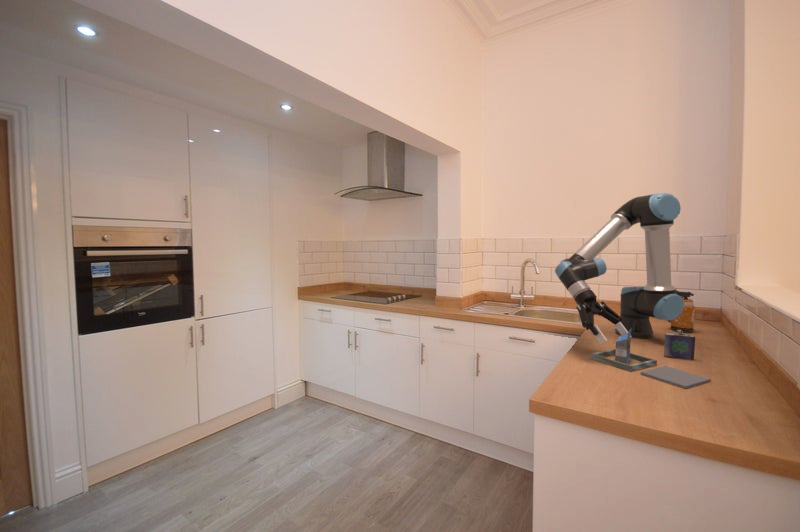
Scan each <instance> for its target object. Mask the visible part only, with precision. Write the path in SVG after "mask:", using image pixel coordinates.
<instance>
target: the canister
mask: <svg viewBox="0 0 800 532" xmlns="http://www.w3.org/2000/svg"><path fill="white" fill-rule="evenodd" d="M676 294H677V295H679V296H680V297H681V298H682V299H683V301H684V308H683V311H682V312H681V314H679V316H678V317H677V318H675V319H673V320H666V321H667V322H668V323H670V329H671V330H672V331H674V330H676V331H675V332H677V330H682V331H683V332H682V333H684V332H689V333H692V331H693V332H694V331H695V330H694V329H695V313H696V312H695V311H696V306H695V305H694V303H695V302H694V300H693V299H691V297H693V296H694V295H695V293H692V292H690V291H679V290H676Z"/></svg>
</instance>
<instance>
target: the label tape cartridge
mask: <svg viewBox="0 0 800 532" xmlns="http://www.w3.org/2000/svg"><path fill="white" fill-rule="evenodd" d="M631 329H632V328H631ZM631 329H630V330H629V332H628V335H624V336H621V335H620V336H619V337H618V338H617V339H616V341H615V348H614V349H615V355H614V360H615V361H618V362H621V363H624V364H628V365H629V363H630V361H631V358H630V353H631V338H632V337H631ZM629 333H630V334H629Z"/></svg>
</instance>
